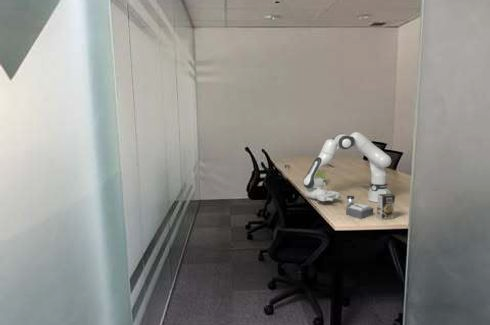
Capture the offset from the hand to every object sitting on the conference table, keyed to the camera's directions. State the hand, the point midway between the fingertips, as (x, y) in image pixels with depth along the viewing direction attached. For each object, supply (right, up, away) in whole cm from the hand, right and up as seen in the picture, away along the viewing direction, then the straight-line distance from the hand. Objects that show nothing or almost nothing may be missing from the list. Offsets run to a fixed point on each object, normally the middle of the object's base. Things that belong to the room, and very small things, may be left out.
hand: (336, 198), depth 256 cm
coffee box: (+24, -10, -29) cm, 40 cm away
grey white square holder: (+10, -9, -22) cm, 26 cm away
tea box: (+2, +5, +79) cm, 79 cm away
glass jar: (+7, -7, -9) cm, 14 cm away
